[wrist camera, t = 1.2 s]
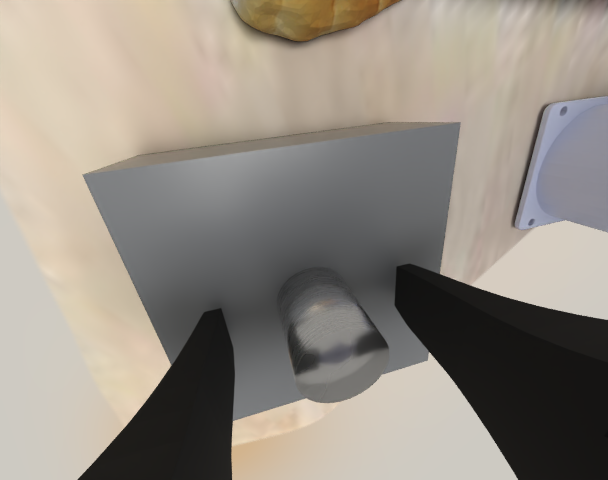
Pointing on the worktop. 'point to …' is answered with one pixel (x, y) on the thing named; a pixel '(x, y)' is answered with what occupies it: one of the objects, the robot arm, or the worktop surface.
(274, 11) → the pastry
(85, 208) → the worktop surface
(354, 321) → the cover
